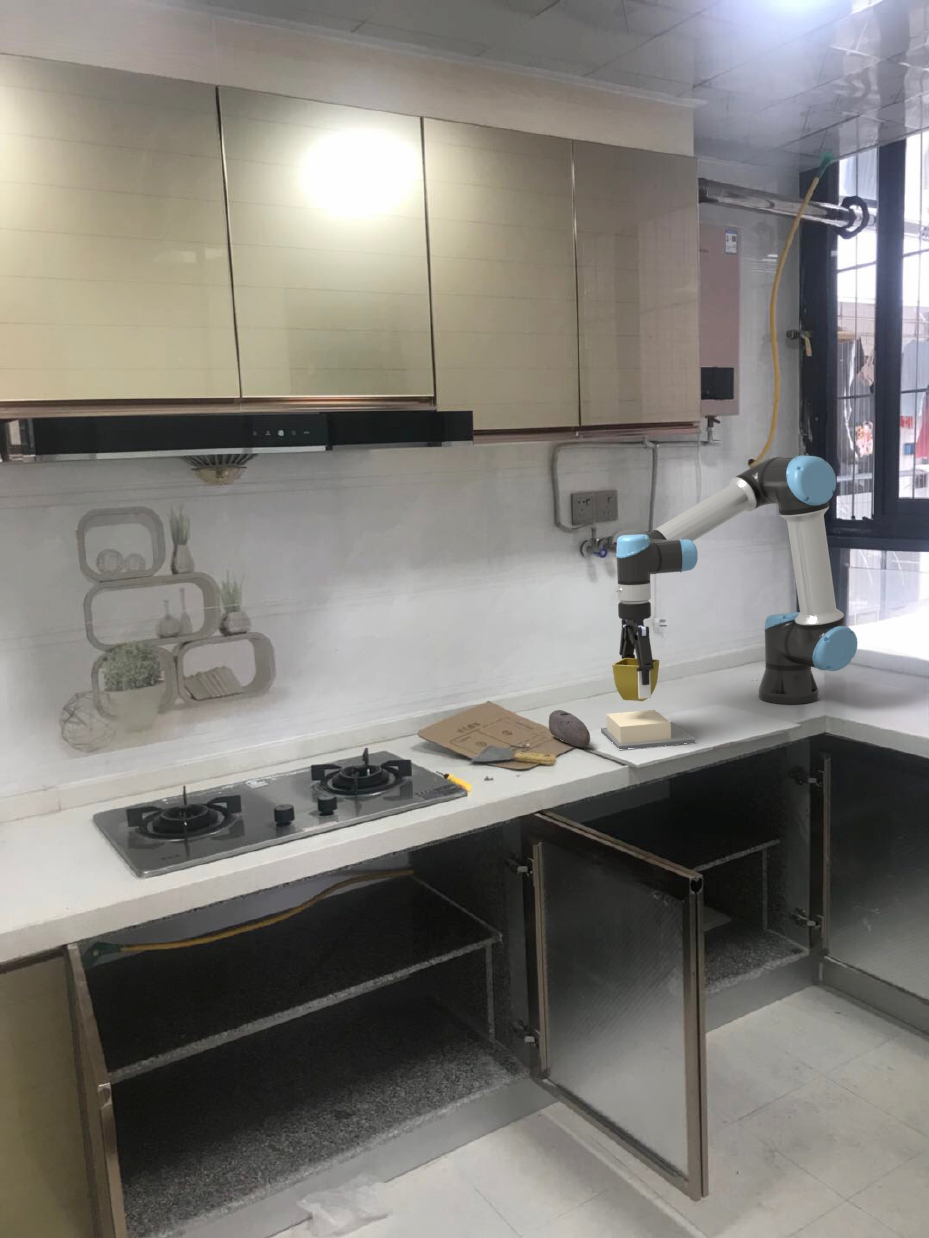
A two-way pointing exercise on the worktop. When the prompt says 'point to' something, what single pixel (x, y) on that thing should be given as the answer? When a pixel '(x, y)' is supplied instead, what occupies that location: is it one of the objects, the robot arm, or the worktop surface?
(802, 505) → the robot arm
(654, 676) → the flower pot
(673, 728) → the display base
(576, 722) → the perforated stone tool
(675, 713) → the worktop surface
